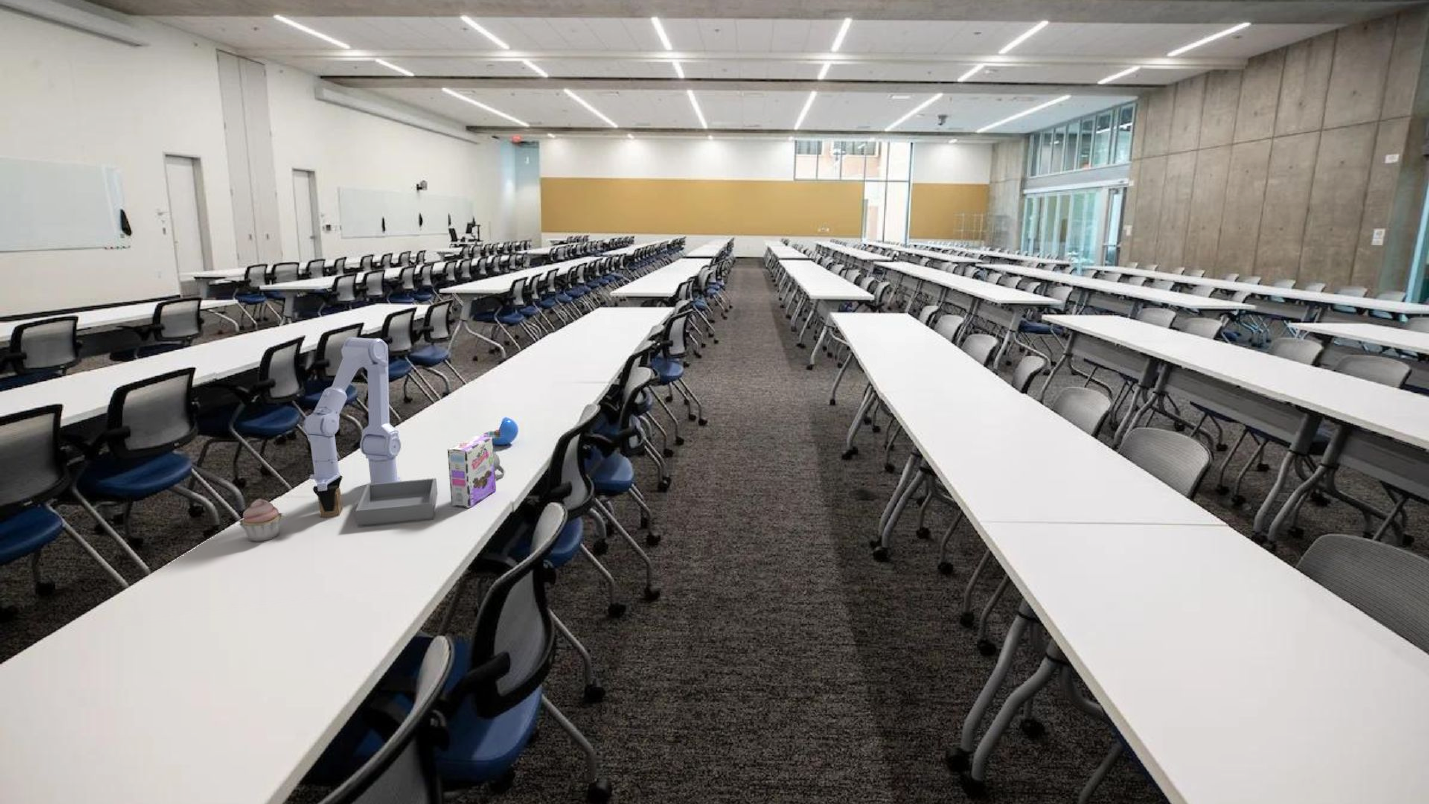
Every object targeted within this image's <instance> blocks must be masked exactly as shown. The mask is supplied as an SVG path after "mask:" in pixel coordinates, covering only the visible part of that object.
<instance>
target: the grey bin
mask: <svg viewBox="0 0 1429 804" xmlns="http://www.w3.org/2000/svg"><path fill="white" fill-rule="evenodd" d="M437 483H438V482H437V478H436V477H435V478H423V479H421V478H420V479H414V480H413V479H412V480H401V481H398V482H386V483H375V484H371V483H367V484H366V486H365V488H364V491H363V492H362V493H363V494H362V496H361V498H360V500H359V502H358V505H357V507H356V509H355V514H356V515H355V516H356V524H357V528H365V527H373V526H374V527H375V526H384V525H395V524H404V523H412V522H413V523H414V522H422V521H433V520H434V519H435V510H436V504H437V501H438V500H437V499H438V484H437Z"/></svg>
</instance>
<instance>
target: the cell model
mask: <svg viewBox="0 0 1429 804" xmlns="http://www.w3.org/2000/svg"><path fill="white" fill-rule="evenodd" d="M518 434H519V426H518V424H517V422H516V421H514V420H513V419H512V418H510V417H506V416H505V417H503V418H502V420H501V423H500V426H499V427H498V429H496V430H495V429H494V430H490V431H489V430H488V431H486V432H484V433H483V437H492V441H493V445H498V446H505V445H508V444H511V443H512V442H514V441H515V440H516V439H517V437H518Z"/></svg>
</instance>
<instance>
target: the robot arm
mask: <svg viewBox="0 0 1429 804" xmlns="http://www.w3.org/2000/svg"><path fill="white" fill-rule="evenodd" d="M340 351H341V355H342V360H341V363H340V364H339V367H338V369H337V372H336V375H335V376H334V380H333V383H332V385H331V386H329V387H327V388H325V389H324V391H323V392H322V394H321V396H320V399H319V400H318V402H317V404H316V406H315V408H314V410H313V412H312V413H310V415H306V418H305V419H304V421H303V426H302V430H303V432H304V434H305V435H306V436H307V441H308V442H309V443H310V449H311V457H312V458H311V459H312V464H313V465H312V466H313V474H310V476H309V480H314V481H315V483H316V485H314V486H313V487H312V491H313V493H315V495H316V496H317V499H318V498H319V500H320V502H321V504H322V507H323V509H324V511H325V512H328V511H333V510H334V504H335V493H336V489H337V488H340V487H341V486H340V485H341V482H342V480H343V475H341V472H340V468H339V461H338V451H337V445H336V437H335V434H337V432H338V431H339V430H340V415H341V411H342V409H343V407H344V406H345V403H346V401H347V399H348V396H347V393H346V391H347V389H348V387H349V386H350V384H351V382H352V380H353V379H354V377H355V376H356V373H357V372H358V370H359V369H361V368H364V369H365V370H366V371H367V394H368V395H367V397H368V399H367V401H368V402H367V403H368V405H367V407H368V425H367V426H366V427H365V428H364V429H363V430H362V431H361V439H360V442H359V448H360V452H361V453H362V454H363V455H365V459H367V461H368V468H369V479H370V484H375V483H386V482H398V481H402V477H401V476H398V466H397V459H396V457H398V455H399V453H400V451H401V448H402V444H401V443H402V442H401V440H400V435H399V430H398V429H397V428H395V427H394V426H393V425H391V423H390V392H389V391H390V390H389V389H390V388H389V387H390V386H389V385H390V384H389V345H388V344H387V343H386V342H385V341H384V340H383V339H381V338H379V337H378V338H367V337H366V338H363V337H354V336H350V337H349V336H348V338H347V339H345V341H344V343H343V347H342V348H341V350H340ZM319 500H318V501H319Z"/></svg>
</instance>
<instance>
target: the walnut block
mask: <svg viewBox="0 0 1429 804" xmlns="http://www.w3.org/2000/svg"><path fill="white" fill-rule="evenodd" d="M341 493H342V492H341V488H340V487H339V488H337V489H336V493H335V504H334V510H333V511H328V512H325V511H324V509H323V507H322V504H321V502H320V500H319V498H318V497H317V499H318V506H319V507H318V508H319V515H320V518H326V517H327V518H329V517H338V516H339V517H340V515H342V512H343V501H342V494H341Z"/></svg>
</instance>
